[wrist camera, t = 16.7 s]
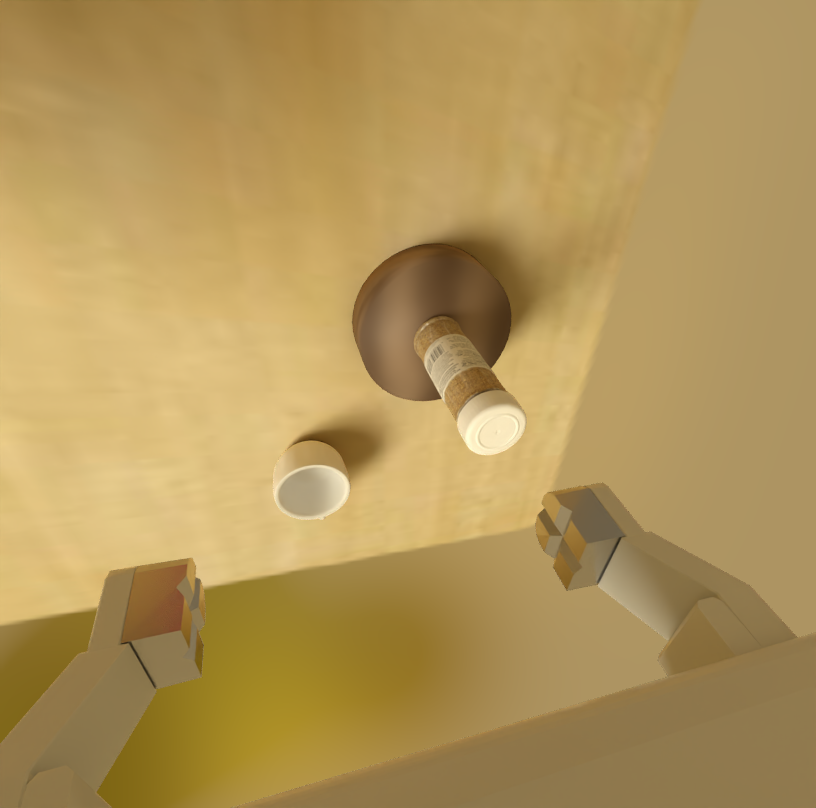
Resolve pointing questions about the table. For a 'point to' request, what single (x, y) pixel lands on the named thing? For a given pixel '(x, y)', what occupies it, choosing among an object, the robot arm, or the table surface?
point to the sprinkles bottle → (469, 387)
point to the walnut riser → (426, 314)
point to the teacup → (310, 481)
